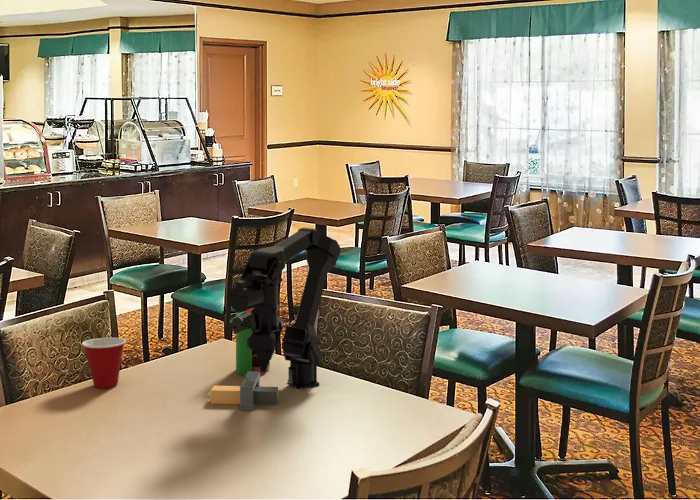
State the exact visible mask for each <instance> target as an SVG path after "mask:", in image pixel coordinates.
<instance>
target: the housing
mask: <svg viewBox="0 0 700 500" xmlns="http://www.w3.org/2000/svg"><path fill="white" fill-rule="evenodd" d="M239 386H240V404H239V405H240V408H239V409H240V411H254V409H255V396H254V388H255V386H259V387H261V375H260V372H254V371H248V372H247V374H246V376H244V378H243V380H242V382H241V384H240V385H239Z"/></svg>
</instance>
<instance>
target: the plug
mask: <svg viewBox="0 0 700 500" xmlns="http://www.w3.org/2000/svg"><path fill="white" fill-rule="evenodd" d="M240 386H241V385H213V386H212V388H211V389H210V391H208V393H207V394H206V396H207V397H210V404H211V405H215V404H216V405H240ZM254 396H255V405H257V406H258V405H259V406H261V405H265V406H277V405H278V403H277V402H279V386H260V387H259V386H255V388H254Z"/></svg>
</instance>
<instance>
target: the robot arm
mask: <svg viewBox="0 0 700 500" xmlns="http://www.w3.org/2000/svg"><path fill="white" fill-rule="evenodd" d="M303 251H304V252H306V255H305V260H306V262H307V266H308V270H307V275H306V280H305V283H304V287H303V291H302V294H301V298H300V303H299V306H298V310H297V314H296V318H295V321H294V322H293V324H292V325H291V326H289V325H287V326H286V327H285V329H284V333H283V334H284V335H283V337H282V339H281V348H282V349H281V350H282V353H283V356H284V360H285V361H288V362H289V366H288V379H287V383H289V384H290V385H292V386H293V387H294V388H295V389H304V388H309V387H315V386H320V382H319V381H318V374H317V372H318V371H317V370H318V369H317V368H318V367H317V366H318V365H320V363H321V362H322V360H323V356H324V353H323V351H322V350H321V349H320V348H319V346H317V342H318V336H317V333H316V329H315V325H316V319H317V315H318V311H319V307H320V304H321V299H322V295H323V292H324V288H325V283H326V280H327V276H328V273H329V272H330V271H331V270H332V269H333V268H334V267H335V266H337V265H336V264H337V262H338V259H339V256H340V254H341V246H340V244H339V243H338V241H337V240H336V239H333V238H332V237H329V236H327V235H326V234H323V233H322V232H321V231H320V230H318V229H316V228H311V227H301V228H298V230H297V232H295V233H293V234H292V235H289V236H288V237H286V238H285V239H283V240H282V241H280V242H278V243H277V244H275V245H273V246H268V247H261V248H259V249H255V250H253V251H252V252H251V253H250V254H249V257H248V259H247V261H246V265H245V266H244V267H245V268H244V269H243V271H242V274H241V276H240V280H239V281H235V287H233V288H232V289H231V290H230V292H229V295H228V303H229V305H230V307H231V308H232V309H233V310H234V311H235V312H237V313H241V312H245V311H247V310H248V309H251V308H253V309H252V310H251V312H248V313H245V314H242V315H239V316H236V315H235V316H234V317H232V318H231V319H230V320H229V325H230V327H229V329H230V330H232V332H233V335H236V334H237V333H239V332H240V331H243V330H246V329H249V328H251V331H253V332H252V333H251V334H250V335H249V337H248V338H247V347H249V348H250V349H252V350H253V351H254V352H255V353H256V355H257V359H258V362H259V366H260V370H261V372H266V369H267V367H268V364H269V361H271V360H272V358H273V355H274V354H275V353H274V352H275V349H276V347H277V345H278V342H279V340H280V337H281V334H282V332H283V328H284V320H283V319H282V317H281V316H279V315H278V311H279V310H280V305H279V302H278V300H279V298H278V297H279V296H278V284H279V283H282V282H283V278H282V277H281V276H279V274H280V273H281V272H283V270H284V269H286V263H287V262H288V261H289V260H291V259H293V258H294V257H296V256H297V255H299V254H300V253H302V252H303ZM256 330H258V331H256Z"/></svg>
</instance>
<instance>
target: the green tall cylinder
mask: <svg viewBox="0 0 700 500" xmlns="http://www.w3.org/2000/svg"><path fill="white" fill-rule="evenodd" d="M252 309H253V308H251V309H248V310H245V311H241V312H237V313H236V314H235V317H236V316H239V315H242V314H245V313H248V312H251V310H252ZM256 331H258V330H256ZM252 332H253V331H251V328H249V329H246V330H243V331H240V332H239V333H237V334H235V372H236V373H237V374H238V375H239V376H244V377H245V376H246V374H247V372H248V371H254V372H260V374H261V375H265V374H267V373H269V372H270V371H269V369H270V367H269V366H270V364H271V363H270V361H271V360H270V361H269V364H268V367H267V369H266V372H267V373H266V372H261V370H260V366H259V362H258V359H257V355H256V353H255V352H254V351H253V350H252V349H250V348H249V347H247V338H248V337H249V335H250V334H251V333H252ZM264 373H265V374H264Z"/></svg>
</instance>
